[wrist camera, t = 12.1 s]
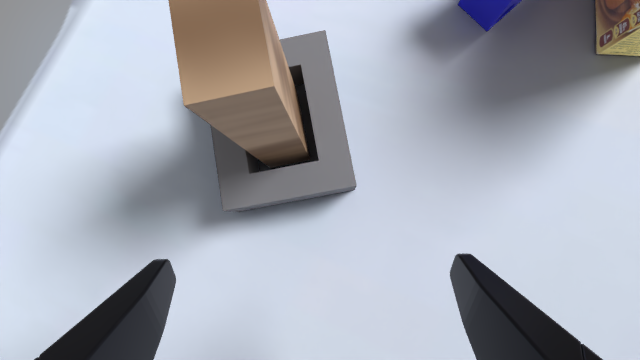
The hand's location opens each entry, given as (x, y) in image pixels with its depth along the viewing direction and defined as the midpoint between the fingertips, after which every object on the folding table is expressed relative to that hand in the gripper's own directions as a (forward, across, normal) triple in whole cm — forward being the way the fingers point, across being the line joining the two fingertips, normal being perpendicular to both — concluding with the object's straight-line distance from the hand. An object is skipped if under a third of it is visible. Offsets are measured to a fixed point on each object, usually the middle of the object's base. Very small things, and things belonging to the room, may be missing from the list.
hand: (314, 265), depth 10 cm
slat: (+15, +2, +2) cm, 15 cm away
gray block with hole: (+15, +2, +2) cm, 15 cm away
